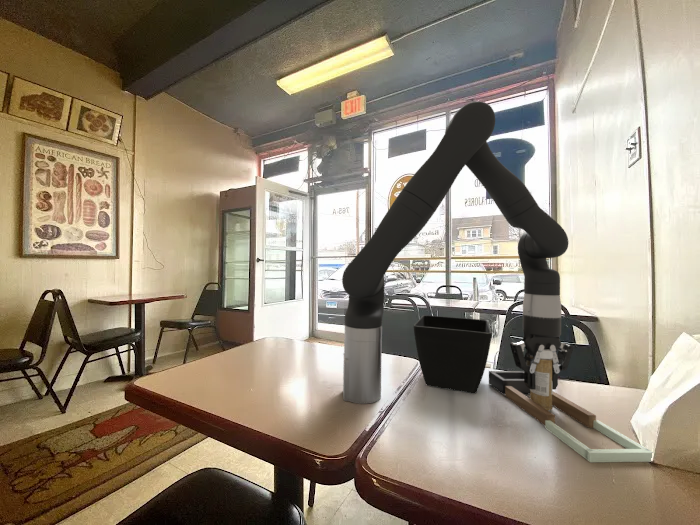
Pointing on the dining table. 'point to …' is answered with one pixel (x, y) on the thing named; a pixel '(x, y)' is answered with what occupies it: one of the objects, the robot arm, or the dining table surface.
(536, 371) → the sprinkles bottle
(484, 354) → the flower pot
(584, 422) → the channel
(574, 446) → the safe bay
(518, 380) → the bin
